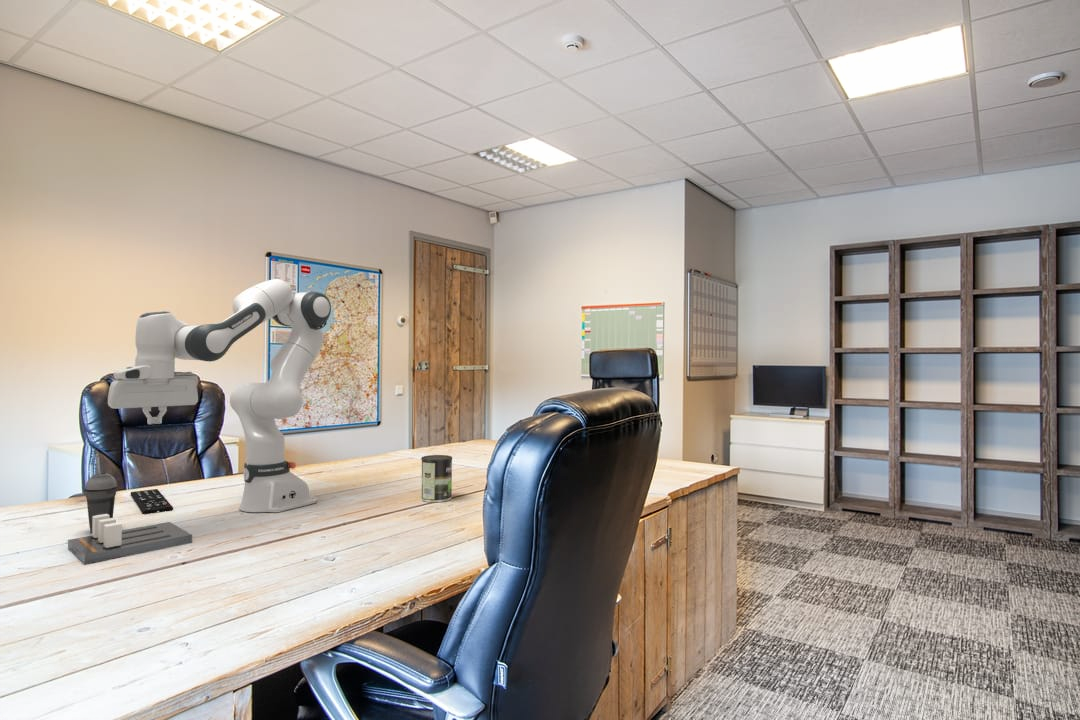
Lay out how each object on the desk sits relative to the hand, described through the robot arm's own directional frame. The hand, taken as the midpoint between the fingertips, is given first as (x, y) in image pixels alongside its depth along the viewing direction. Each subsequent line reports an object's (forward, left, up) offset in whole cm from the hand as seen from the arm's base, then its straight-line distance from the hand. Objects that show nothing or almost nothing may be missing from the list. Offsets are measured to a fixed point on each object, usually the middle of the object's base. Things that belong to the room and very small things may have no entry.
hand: (154, 423), depth 157 cm
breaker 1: (+12, +2, -27) cm, 29 cm away
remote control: (-10, -38, -30) cm, 49 cm away
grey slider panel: (+7, +7, -29) cm, 31 cm away
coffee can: (-76, +24, -29) cm, 85 cm away
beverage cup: (+9, -12, -29) cm, 33 cm away
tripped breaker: (+12, +13, -27) cm, 32 cm away
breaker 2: (+12, +8, -27) cm, 30 cm away
